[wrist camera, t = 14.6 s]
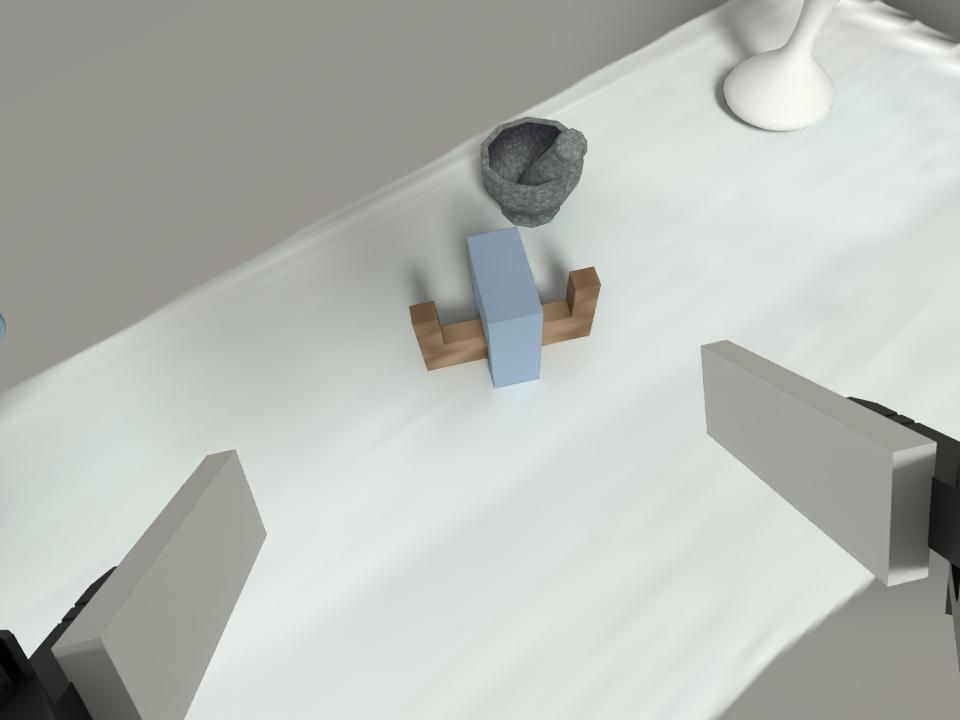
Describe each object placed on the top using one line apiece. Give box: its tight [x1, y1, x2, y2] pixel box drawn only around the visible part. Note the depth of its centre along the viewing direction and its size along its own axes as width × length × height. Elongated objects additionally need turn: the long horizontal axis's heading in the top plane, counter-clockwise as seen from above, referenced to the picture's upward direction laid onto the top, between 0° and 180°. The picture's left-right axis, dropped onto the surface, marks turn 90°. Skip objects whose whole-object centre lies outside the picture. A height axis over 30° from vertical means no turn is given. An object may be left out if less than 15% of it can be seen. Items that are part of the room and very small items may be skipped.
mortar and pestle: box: [481, 117, 587, 228], centre depth 52 cm, size 11×9×12 cm
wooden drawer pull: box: [409, 267, 601, 371], centre depth 47 cm, size 15×2×8 cm, turn 102°
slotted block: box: [466, 227, 544, 388], centre depth 46 cm, size 4×8×11 cm, turn 12°
